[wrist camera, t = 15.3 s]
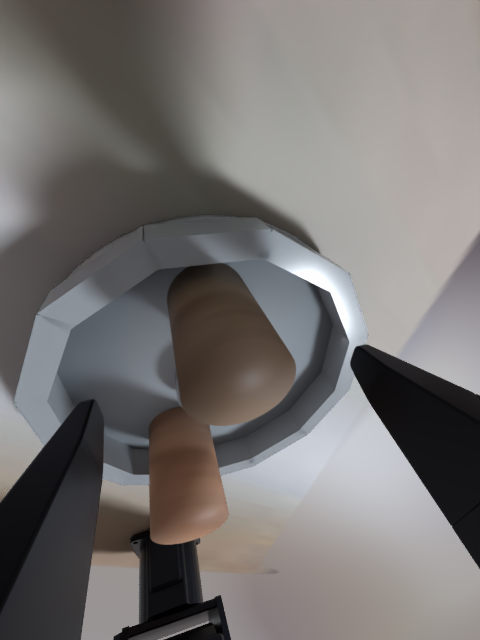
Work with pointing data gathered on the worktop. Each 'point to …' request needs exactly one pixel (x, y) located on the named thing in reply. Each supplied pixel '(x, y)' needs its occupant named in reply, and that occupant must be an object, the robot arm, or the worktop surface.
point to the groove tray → (157, 348)
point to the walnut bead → (225, 348)
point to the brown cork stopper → (183, 479)
